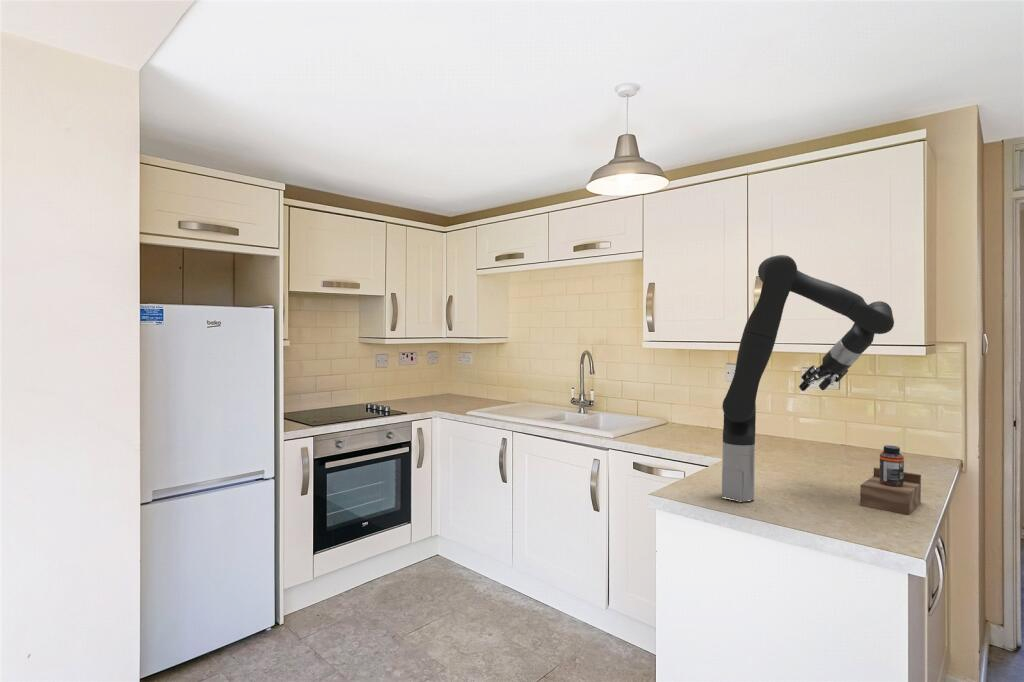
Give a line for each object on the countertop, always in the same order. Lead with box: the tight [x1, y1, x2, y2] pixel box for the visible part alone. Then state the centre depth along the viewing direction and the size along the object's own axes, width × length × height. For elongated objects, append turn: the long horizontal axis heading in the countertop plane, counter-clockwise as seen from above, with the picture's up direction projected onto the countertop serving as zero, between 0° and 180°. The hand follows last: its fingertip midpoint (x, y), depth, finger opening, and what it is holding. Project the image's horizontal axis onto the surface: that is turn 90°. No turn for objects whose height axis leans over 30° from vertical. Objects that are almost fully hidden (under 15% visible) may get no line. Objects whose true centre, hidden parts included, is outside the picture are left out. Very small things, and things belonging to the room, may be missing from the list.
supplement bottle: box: [879, 444, 905, 486], centre depth 165 cm, size 6×6×11 cm
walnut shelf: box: [859, 467, 922, 516], centre depth 165 cm, size 16×12×8 cm
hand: (811, 388), depth 183 cm, fingers open, 8 cm apart
